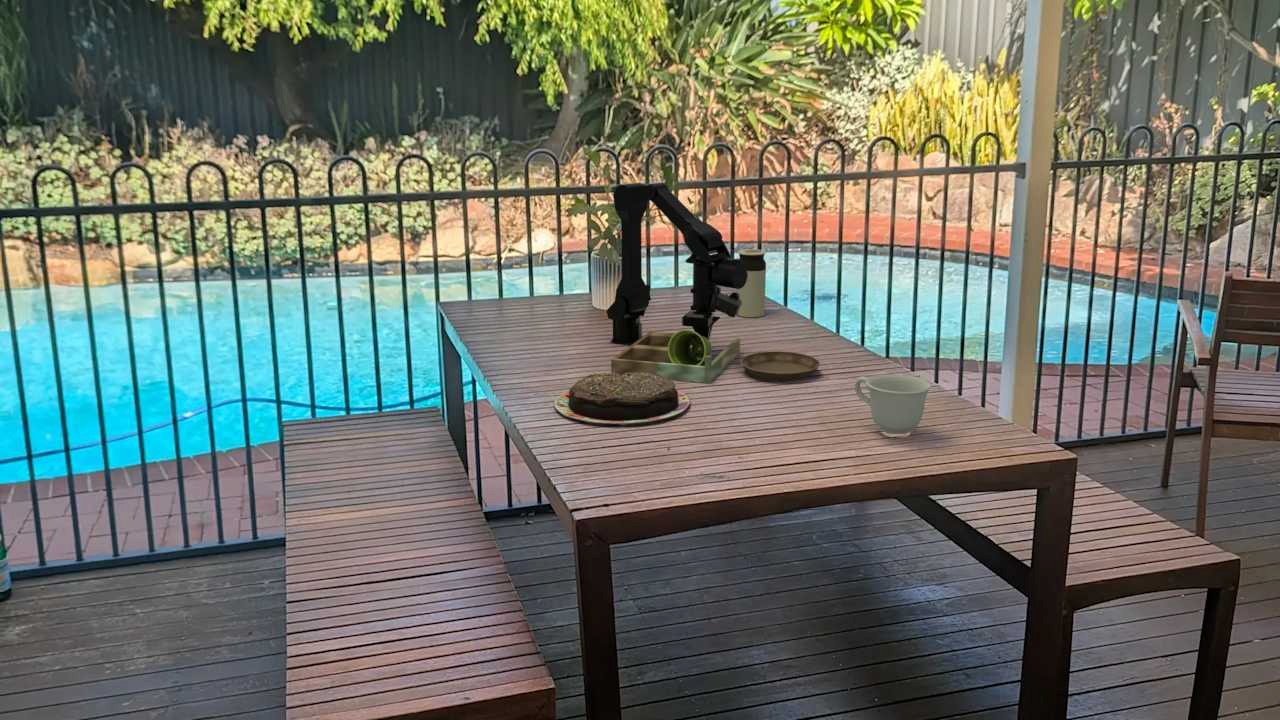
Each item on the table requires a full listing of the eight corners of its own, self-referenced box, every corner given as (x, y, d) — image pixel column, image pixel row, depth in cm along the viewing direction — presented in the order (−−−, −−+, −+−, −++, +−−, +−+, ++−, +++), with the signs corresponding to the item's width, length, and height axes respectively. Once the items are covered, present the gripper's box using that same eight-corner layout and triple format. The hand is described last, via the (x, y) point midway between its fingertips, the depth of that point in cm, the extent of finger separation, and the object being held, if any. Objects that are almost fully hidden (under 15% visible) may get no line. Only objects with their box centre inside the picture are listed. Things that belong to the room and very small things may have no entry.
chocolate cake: (538, 396, 231) (537, 366, 229) (660, 383, 240) (660, 354, 239) (577, 436, 206) (577, 403, 204) (712, 420, 215) (712, 388, 213)
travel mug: (769, 313, 305) (771, 250, 300) (756, 319, 298) (758, 254, 294) (743, 310, 309) (745, 248, 304) (731, 316, 302) (732, 252, 298)
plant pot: (680, 367, 258) (666, 369, 250) (682, 327, 257) (668, 328, 249) (717, 369, 254) (704, 372, 246) (719, 329, 253) (706, 330, 245)
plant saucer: (817, 387, 236) (817, 373, 235) (736, 382, 240) (736, 369, 239) (821, 366, 253) (821, 353, 252) (745, 362, 256) (745, 349, 256)
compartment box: (611, 374, 245) (610, 348, 244) (650, 345, 271) (650, 321, 269) (709, 383, 238) (710, 357, 237) (740, 352, 264) (740, 328, 262)
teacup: (868, 416, 215) (870, 368, 213) (938, 431, 206) (942, 381, 204) (838, 432, 206) (840, 381, 204) (910, 448, 197) (914, 396, 195)
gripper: (729, 293, 243) (728, 360, 247) (747, 277, 260) (746, 340, 264) (681, 290, 246) (681, 356, 250) (702, 275, 263) (702, 337, 267)
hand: (704, 347), depth 258 cm, fingers closed
